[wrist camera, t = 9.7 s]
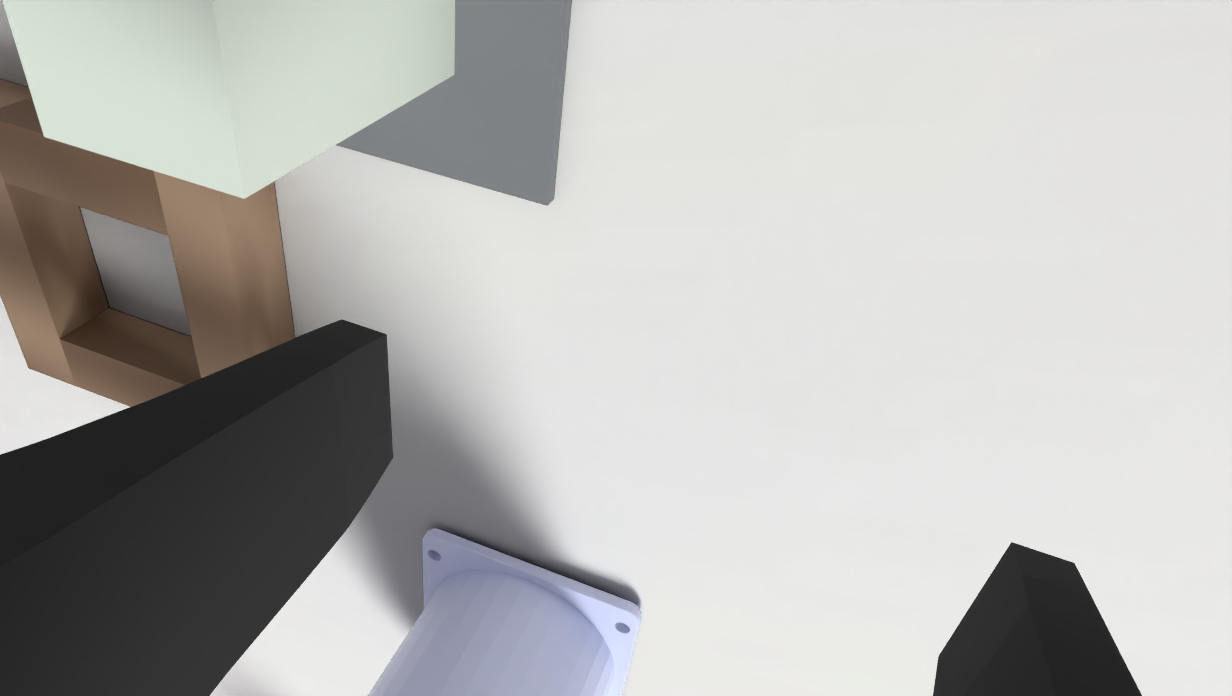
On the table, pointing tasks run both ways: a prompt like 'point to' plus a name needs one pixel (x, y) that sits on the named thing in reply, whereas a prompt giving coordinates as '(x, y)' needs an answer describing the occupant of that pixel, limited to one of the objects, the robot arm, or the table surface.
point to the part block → (225, 77)
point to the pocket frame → (70, 283)
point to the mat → (488, 102)
